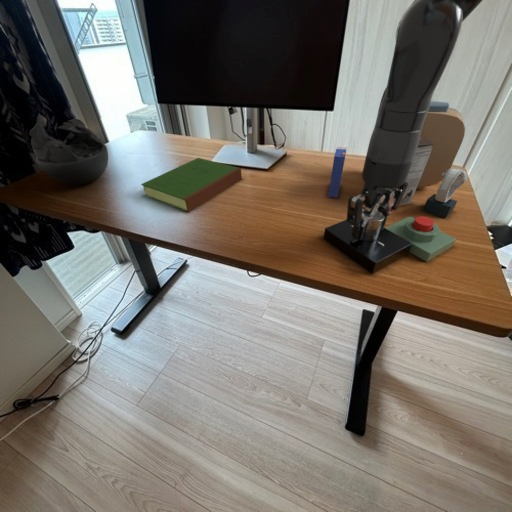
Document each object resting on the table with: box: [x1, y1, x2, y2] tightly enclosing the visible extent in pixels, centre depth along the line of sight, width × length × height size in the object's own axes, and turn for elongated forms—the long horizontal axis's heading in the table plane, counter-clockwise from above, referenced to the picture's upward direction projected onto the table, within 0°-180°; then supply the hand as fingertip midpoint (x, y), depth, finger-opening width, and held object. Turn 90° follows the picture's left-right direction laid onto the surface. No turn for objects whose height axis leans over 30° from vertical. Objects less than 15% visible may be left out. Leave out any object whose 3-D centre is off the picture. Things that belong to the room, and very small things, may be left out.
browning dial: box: [361, 209, 384, 241], centre depth 56 cm, size 4×4×5 cm
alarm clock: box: [416, 100, 466, 190], centre depth 76 cm, size 21×10×22 cm, turn 63°
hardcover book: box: [140, 157, 243, 213], centre depth 84 cm, size 25×19×4 cm
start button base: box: [385, 215, 457, 263], centre depth 59 cm, size 11×9×4 cm
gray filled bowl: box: [28, 118, 109, 186], centre depth 85 cm, size 20×20×19 cm
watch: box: [422, 167, 469, 219], centre depth 66 cm, size 6×8×11 cm
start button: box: [413, 216, 435, 232], centre depth 57 cm, size 4×4×2 cm
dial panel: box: [322, 216, 412, 275], centre depth 58 cm, size 14×11×3 cm
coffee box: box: [393, 138, 434, 207], centre depth 70 cm, size 9×6×16 cm
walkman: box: [327, 146, 348, 199], centre depth 76 cm, size 8×3×12 cm, turn 162°
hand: (367, 233), depth 57 cm, fingers open, 5 cm apart
